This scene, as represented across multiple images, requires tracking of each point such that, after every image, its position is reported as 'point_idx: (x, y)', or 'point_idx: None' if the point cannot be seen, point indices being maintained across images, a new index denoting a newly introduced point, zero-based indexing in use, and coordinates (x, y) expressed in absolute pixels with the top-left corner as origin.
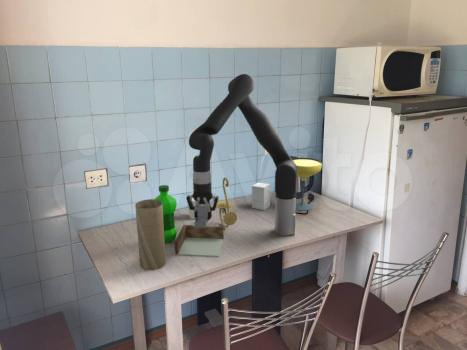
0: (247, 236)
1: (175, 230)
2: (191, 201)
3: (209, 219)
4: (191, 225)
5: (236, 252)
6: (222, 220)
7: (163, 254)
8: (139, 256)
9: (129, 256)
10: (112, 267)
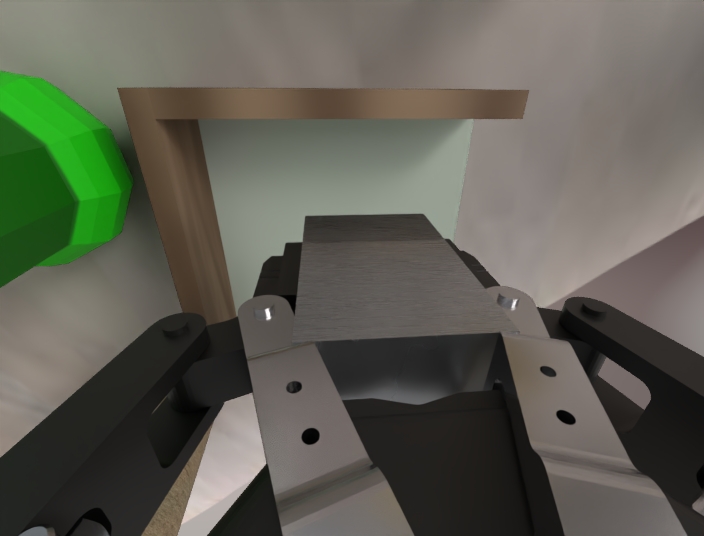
0: (653, 24)
1: (103, 197)
2: (119, 460)
3: None
4: (209, 97)
5: (527, 263)
6: None
7: (202, 449)
8: None
9: (3, 362)
10: (12, 437)
